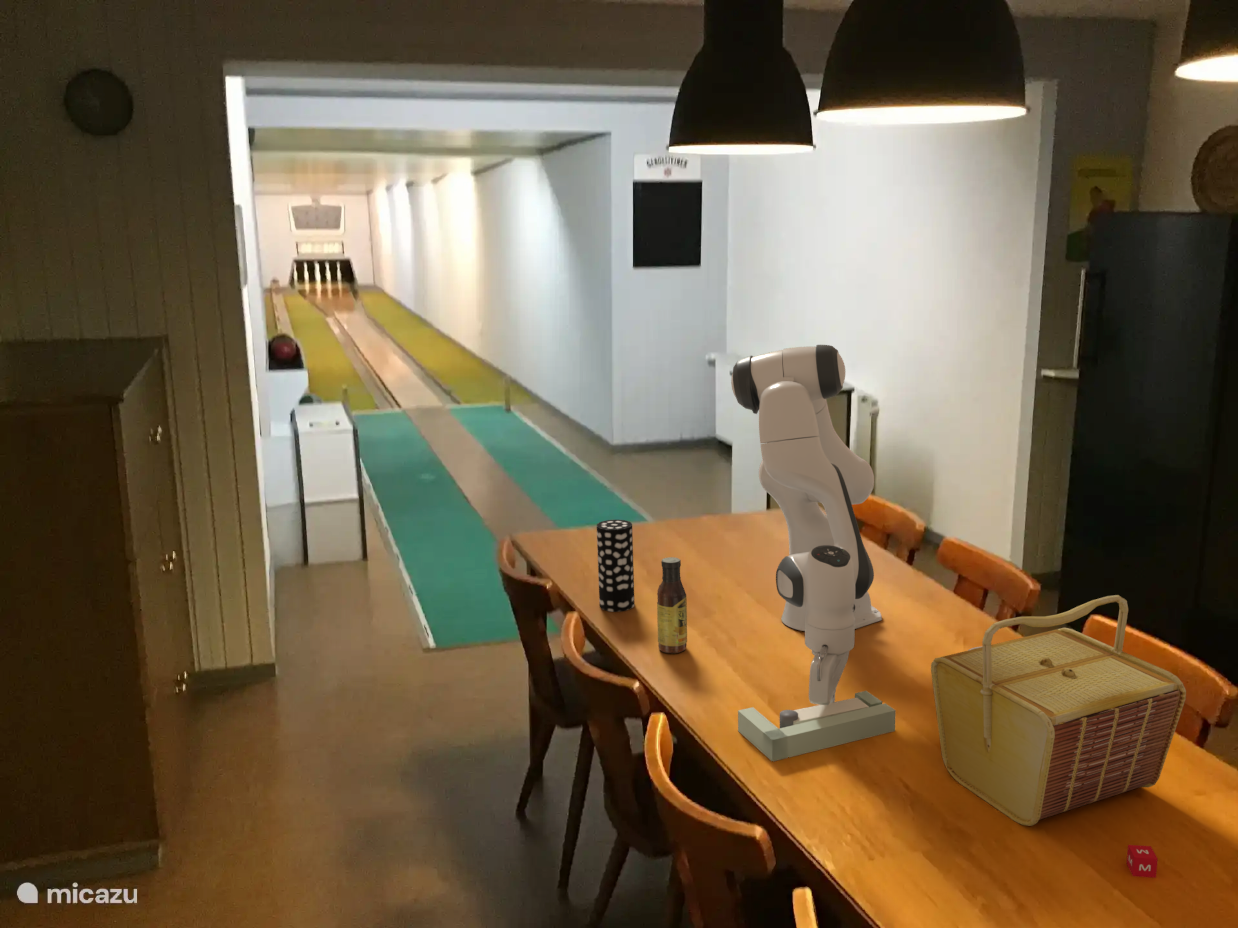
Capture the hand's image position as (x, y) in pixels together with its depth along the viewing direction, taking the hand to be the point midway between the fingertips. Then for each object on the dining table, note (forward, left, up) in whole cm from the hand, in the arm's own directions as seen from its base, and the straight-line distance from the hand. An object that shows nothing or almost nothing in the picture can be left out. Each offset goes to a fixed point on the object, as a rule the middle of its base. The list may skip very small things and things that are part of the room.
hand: (828, 705), depth 196 cm
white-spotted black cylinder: (+14, -68, -2) cm, 70 cm away
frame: (+6, +5, -1) cm, 8 cm away
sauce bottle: (+13, -39, -2) cm, 42 cm away
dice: (-13, +59, -2) cm, 60 cm away
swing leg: (+5, +5, -1) cm, 7 cm away
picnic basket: (-18, +36, -2) cm, 40 cm away
